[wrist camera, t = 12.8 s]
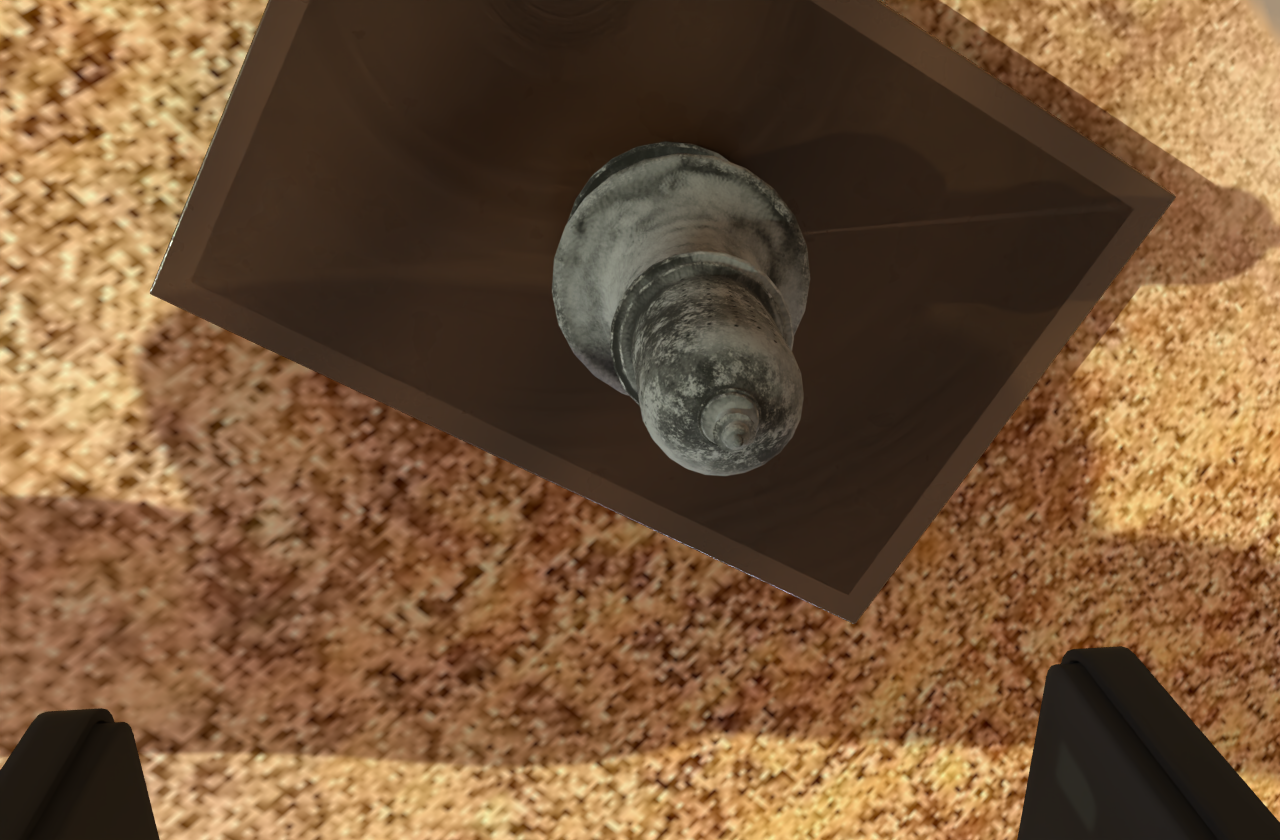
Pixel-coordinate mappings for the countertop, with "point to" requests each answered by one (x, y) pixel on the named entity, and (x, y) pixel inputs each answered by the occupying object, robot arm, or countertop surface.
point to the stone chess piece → (688, 301)
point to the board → (542, 203)
